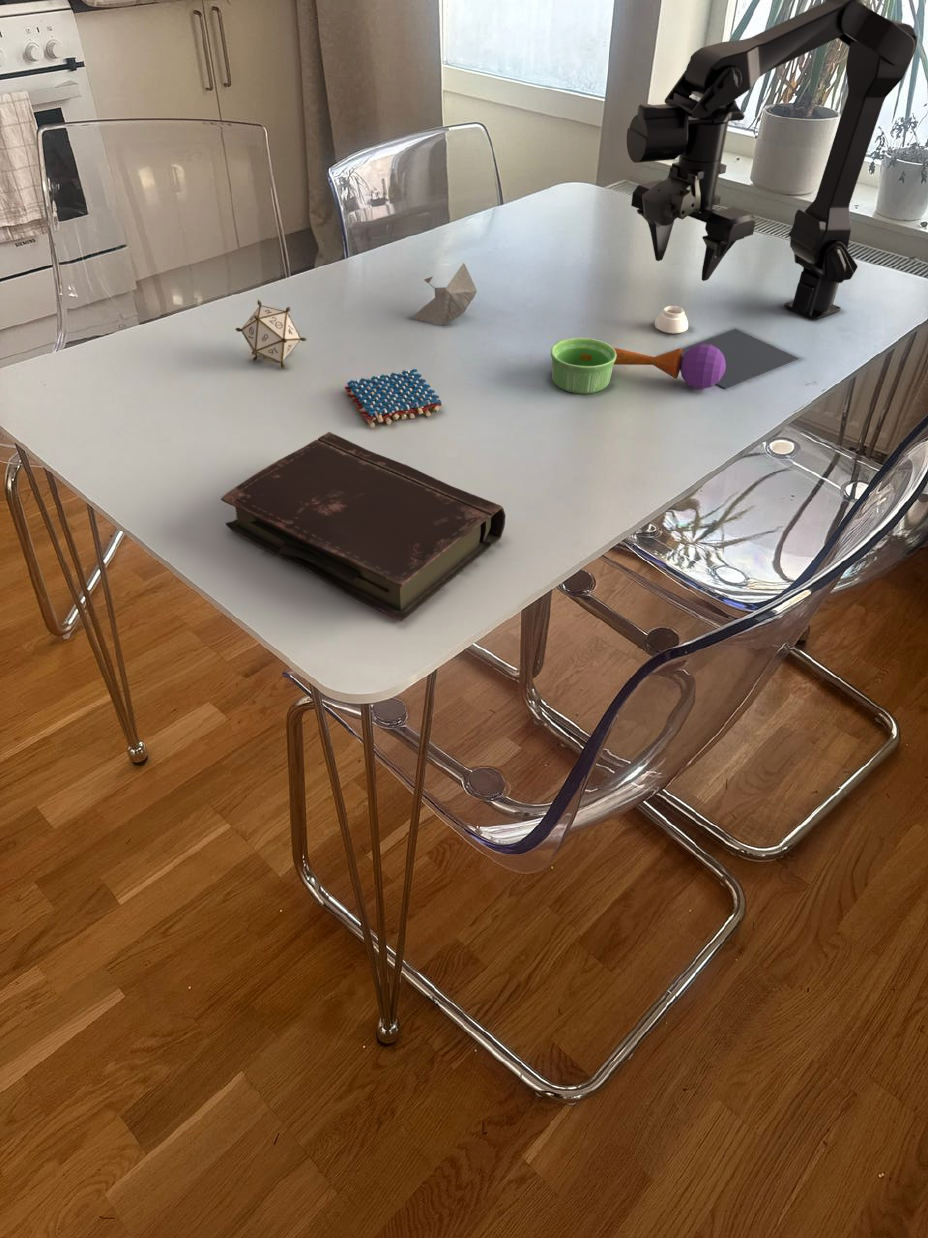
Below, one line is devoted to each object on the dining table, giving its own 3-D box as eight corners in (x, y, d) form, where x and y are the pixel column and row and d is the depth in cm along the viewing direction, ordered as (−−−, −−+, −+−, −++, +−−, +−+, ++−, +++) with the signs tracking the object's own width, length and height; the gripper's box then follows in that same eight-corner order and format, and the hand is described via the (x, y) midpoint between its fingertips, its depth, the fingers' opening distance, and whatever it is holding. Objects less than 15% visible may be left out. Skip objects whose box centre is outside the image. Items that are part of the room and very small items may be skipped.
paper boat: (432, 328, 140) (391, 294, 143) (442, 350, 146) (402, 317, 149) (488, 271, 140) (446, 239, 143) (495, 295, 146) (455, 264, 149)
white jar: (654, 320, 146) (654, 333, 142) (657, 301, 144) (657, 315, 140) (687, 322, 145) (687, 336, 142) (690, 304, 143) (690, 318, 140)
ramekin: (559, 361, 135) (562, 332, 132) (620, 373, 132) (624, 344, 130) (539, 388, 129) (542, 359, 126) (602, 401, 126) (606, 371, 123)
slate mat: (735, 329, 144) (735, 328, 144) (798, 358, 137) (798, 357, 137) (662, 356, 137) (662, 355, 137) (724, 388, 130) (725, 388, 129)
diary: (336, 462, 114) (332, 426, 110) (504, 537, 103) (506, 500, 100) (221, 535, 102) (213, 497, 99) (397, 628, 92) (395, 589, 88)
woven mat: (342, 392, 127) (341, 379, 126) (415, 379, 130) (415, 365, 129) (367, 429, 120) (366, 415, 118) (443, 414, 123) (443, 400, 122)
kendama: (589, 327, 134) (731, 342, 128) (585, 369, 137) (724, 386, 131) (578, 334, 129) (725, 350, 123) (574, 377, 132) (718, 395, 126)
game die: (290, 381, 137) (327, 328, 132) (256, 385, 129) (295, 330, 125) (249, 338, 137) (285, 284, 133) (213, 340, 130) (250, 282, 125)
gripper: (610, 149, 129) (598, 262, 140) (712, 184, 118) (690, 304, 129) (666, 136, 134) (651, 246, 145) (769, 169, 123) (744, 285, 134)
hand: (681, 269), depth 138 cm, fingers open, 9 cm apart
